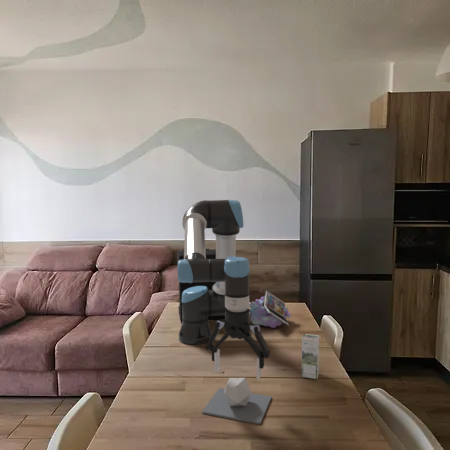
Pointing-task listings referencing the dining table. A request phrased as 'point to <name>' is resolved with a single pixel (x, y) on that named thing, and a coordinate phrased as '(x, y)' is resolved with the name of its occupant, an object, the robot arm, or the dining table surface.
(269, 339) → the dining table surface
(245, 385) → the die
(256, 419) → the mat
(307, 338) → the syrup box
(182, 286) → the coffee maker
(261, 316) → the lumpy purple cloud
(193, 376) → the dining table surface
